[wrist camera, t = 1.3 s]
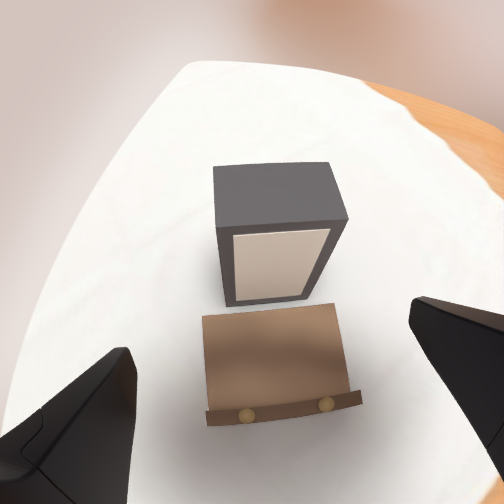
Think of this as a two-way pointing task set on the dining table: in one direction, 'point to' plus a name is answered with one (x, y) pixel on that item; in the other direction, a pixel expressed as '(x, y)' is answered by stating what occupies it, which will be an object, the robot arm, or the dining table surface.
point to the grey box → (275, 228)
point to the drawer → (275, 365)
